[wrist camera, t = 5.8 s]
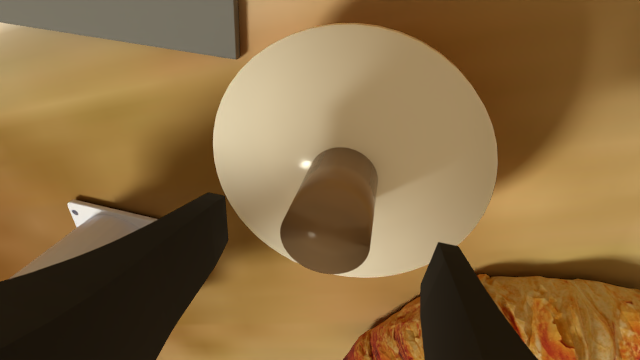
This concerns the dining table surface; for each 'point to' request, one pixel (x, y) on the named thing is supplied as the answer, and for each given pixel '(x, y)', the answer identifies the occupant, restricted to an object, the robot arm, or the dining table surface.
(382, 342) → the croissant
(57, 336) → the robot arm
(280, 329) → the dining table surface
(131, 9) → the mat
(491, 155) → the lid
